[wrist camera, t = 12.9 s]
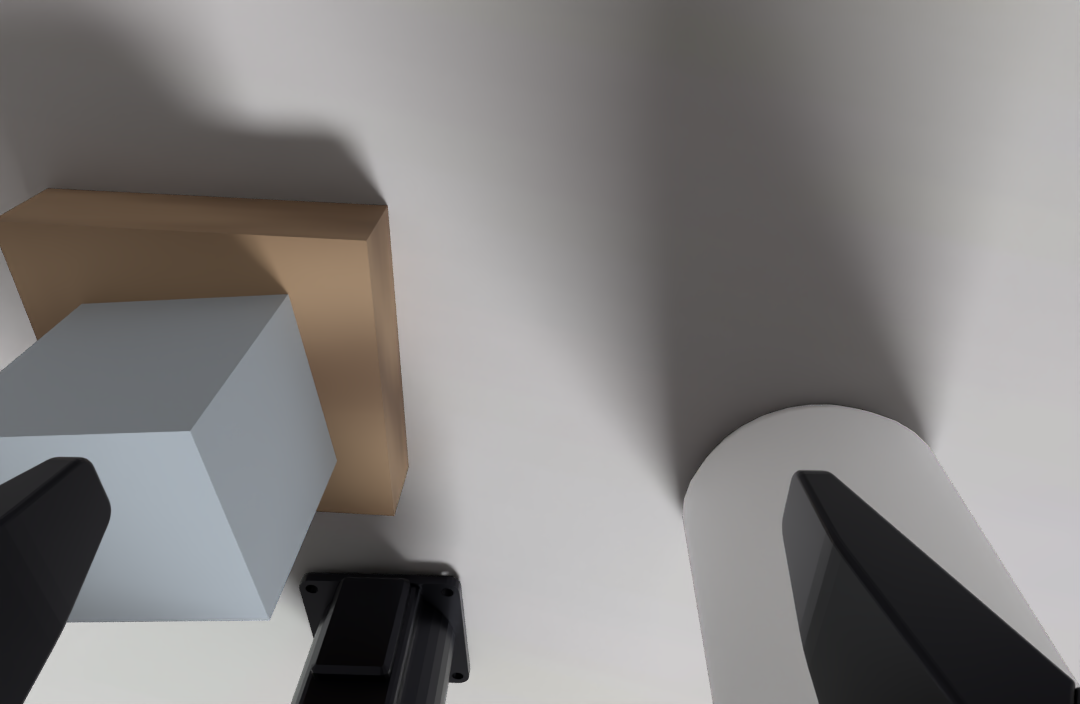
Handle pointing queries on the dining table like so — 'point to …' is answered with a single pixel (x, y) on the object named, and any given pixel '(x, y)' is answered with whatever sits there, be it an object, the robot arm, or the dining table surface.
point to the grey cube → (178, 449)
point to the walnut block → (242, 270)
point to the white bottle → (759, 554)
